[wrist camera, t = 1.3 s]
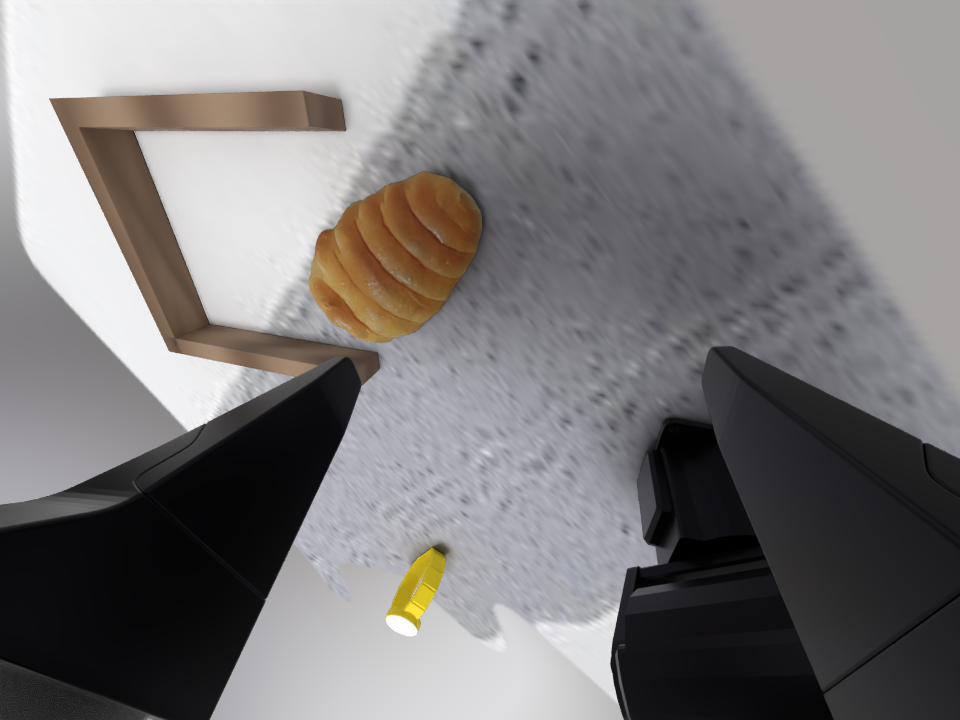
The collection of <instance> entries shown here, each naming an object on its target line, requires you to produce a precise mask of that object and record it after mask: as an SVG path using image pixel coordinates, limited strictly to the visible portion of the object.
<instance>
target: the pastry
mask: <svg viewBox="0 0 960 720" xmlns="http://www.w3.org/2000/svg"><path fill="white" fill-rule="evenodd" d="M481 233H482V214H481V211H480V210H479V208H478V206H477V205H476V203H475V201H474V200H473V198H472V197H471V196H470V195H469V193H468V192H467V191H465V190H464V189H462V188H461V187H460V186H459V185H458V184H457V183H455V182H454V181H453V180H452V179H450V178H448V177H444V176H440V175H435V174H432V173H428V172H421V173H419V174H417V175H415V176H412V177H410V178H408V179H407V180H405V181H402V182H397V183H391V184H389V185H386V186H384V187H383V188H382V189H381V190H379V191H378V192H377V193H375V194H373V195H370V196H369V197H367V198H366V199H364V200H359V201H357V202H354V203H351V205H350V206H349V207H348V208H347V209H346V210H345V212H344V213H343V215H342V217H341V219H340V220H339V221H338V224H337V225H336V226H335V227H334V228H333V229H330V230H324V231H322V232H321V233H320V235H319V237H318V239H317V242H316V247H315V255H314V258H313V261H312V266H311V275H310V277H309V280H308V284H309V289H310V292H311V294H312V296H313V298H314V299H315V301H316V303H317V305H318V306H319V307H320V308H321V310H322V311H323V312H324V313H325V315H326V316H327V317H328V318H329V319H330V321H331V322H332V323H333V324H335V325H337V326H338V327H341V328H343V329H345V330H346V331H347V332H348V333H349V334H351V335H352V336H354V337H356V338H358V339H361V340H364V341H369V342H375V343H378V342H379V343H384V342H389V341H391V340H392V339H394V338H396V337H398V336H405V335H408V334H410V333H413V332H416V331H417V330H419V329H420V328H421V326H422V325H423V324H424V323H425V322H426V321H427V320H429V319H430V317H431V316H433V315H434V314H436V313H437V312H438V311H439V310H440V309H441V308H442V306H443V305H444V303H445V301H446V299H447V298H448V297H449V296H450V294H451V292H452V290H453V288H454V287H455V285H456V284H457V282H458V281H459V280H460V279H461V277H462V275H463V274H464V273H465V272H466V270H467V268H468V266H469V265H470V263H471V261H472V260H473V258H474V256H475V254H476V251H477V247H478V243H479V239H480V236H481Z"/></svg>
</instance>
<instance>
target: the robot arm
mask: <svg viewBox="0 0 960 720" xmlns="http://www.w3.org/2000/svg"><path fill="white" fill-rule="evenodd" d="M702 387H703V391H704V395H705V398H706V402H707V406H708V409H709V413H710V417H711V420H712V424H713V425H710V424H705V423H699V422H694V421H688V420H682V419H677V418H670V419H667V420H665V421H664V423H663V424H662V427H661V430H660V433H659V436H658V439H657V441H656V444H655V447H654V449H650V450H649V451H647V453H646V456H645V459H644V462H643V465H642V468H641V471H640V474H639V477H638V479H637V487H638V499H639V504H640V513H641V522H642V531H643V539H644V540H645V542H646V543H647V544H648V545H652V546H655V547H656V554H657V561H658V565H654V566H649V567H644V568H640V567H639V566H637V567H632V568H628V569H627V573H626V578H625V583H624V588H623V593H622V598H621V602H620V607H619V612H618V617H617V622H616V627H615V632H614V637H613V643H612V652H611V663H610V664H611V670H612V673H613V680H614V686H615V690H616V695H617V699H618V703H619V706H620V709H621V712H622V715H623V718H624V720H960V459H959V458H957V457H955V456H953V455H951V454H949V453H947V452H945V451H943V450H941V449H939V448H937V447H935V446H933V445H931V444H929V443H924V444H923V442H922V440H920V439H919V438H917V437H914V436H912V435H910V434H908V433H906V432H904V431H902V430H900V429H898V428H896V427H894V426H892V425H890V424H888V423H886V422H884V421H882V420H880V419H878V418H876V417H874V416H872V415H870V414H868V413H866V412H864V411H862V410H860V409H858V408H856V407H854V406H852V405H850V404H848V403H846V402H844V401H842V400H840V399H838V398H836V397H834V396H832V395H830V394H828V393H826V392H824V391H822V390H820V389H818V388H816V387H814V386H812V385H810V384H808V383H806V382H804V381H802V380H800V379H798V378H796V377H794V376H792V375H790V374H788V373H786V372H784V371H781V370H779V369H777V368H775V367H773V366H771V365H769V364H767V363H765V362H763V361H761V360H759V359H757V358H755V357H753V356H751V355H749V354H747V353H745V352H743V351H741V350H739V349H737V348H735V347H732V346H721V347H712V348H711V349H710V350H709V352H708V355H707V359H706V363H705V367H704V371H703V375H702ZM360 389H361V379H360V377H359V374H358V372H357V370H356V367H355V365H354V363H353V361H352V359H351V358H349V357H334V358H332V359H330V360H328V361H326V362H324V363H322V364H320V365H318V366H316V367H315V368H313V369H311V370H309V371H307V372H305V373H303V374H301V375H299V376H297V377H295V378H293V379H291V380H289V381H287V382H285V383H283V384H281V385H279V386H277V387H275V388H274V389H272V390H270V391H268V392H266V393H264V394H262V395H260V396H258V397H256V398H254V399H252V400H250V401H248V402H246V403H244V404H242V405H240V406H238V407H236V408H234V409H233V410H231V411H229V412H227V413H225V414H223V415H221V416H219V417H217V418H215V419H213V420H211V421H209V422H208V423H207V424H203V425H201V426H199V427H197V428H195V429H193V430H191V431H189V432H187V433H185V434H183V435H182V436H179V437H177V438H176V439H173V440H171V441H170V442H167V443H165V444H163V445H161V446H160V447H157V448H155V449H153V450H151V451H149V452H147V453H144V454H143V455H141V456H139V457H136V458H134V459H132V460H130V461H128V462H125V463H123V464H121V465H119V466H117V467H115V468H112V469H110V470H108V471H106V472H104V473H102V474H99V475H97V476H95V477H93V478H91V479H89V480H87V481H84V482H82V483H80V484H78V485H76V486H74V487H71V488H69V489H67V490H64V491H62V492H59V493H56V494H53V495H50V496H46V497H43V498H39V499H35V500H30V501H26V502H19V503H11V504H2V505H0V720H148V718H149V719H153V720H210V718H211V715H212V714H213V712H214V710H215V707H216V705H217V703H218V701H219V699H220V697H221V694H222V693H223V690H224V688H225V686H226V684H227V682H228V680H229V678H230V676H231V674H232V671H233V669H234V667H235V665H236V663H237V661H238V659H239V657H240V654H241V652H242V650H243V648H244V646H245V644H246V642H247V640H248V638H249V635H250V633H251V631H252V629H253V627H254V625H255V623H256V621H257V618H258V616H259V614H260V612H261V610H262V608H263V606H264V604H265V599H266V598H267V597H268V595H269V593H270V591H271V588H272V586H273V584H274V582H275V580H276V578H277V576H278V573H279V571H280V569H281V567H282V565H283V563H284V561H285V558H286V557H287V555H288V552H289V550H290V548H291V546H292V544H293V542H294V540H295V538H296V536H297V534H298V531H299V529H300V527H301V525H302V523H303V521H304V519H305V517H306V514H307V512H308V510H309V508H310V506H311V504H312V502H313V500H314V498H315V495H316V493H317V491H318V489H319V487H320V485H321V483H322V481H323V479H324V476H325V474H326V472H327V470H328V468H329V466H330V464H331V462H332V460H333V457H334V455H335V453H336V451H337V449H338V447H339V445H340V443H341V441H342V438H343V436H344V434H345V431H346V429H347V426H348V423H349V420H350V418H351V415H352V412H353V409H354V406H355V403H356V400H357V398H358V395H359V392H360ZM670 427H677V428H676V429H669V428H670Z"/></svg>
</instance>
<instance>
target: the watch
mask: <svg viewBox="0 0 960 720" xmlns="http://www.w3.org/2000/svg"><path fill="white" fill-rule="evenodd" d="M445 562H446V561H445V558H444V555H443V554H441V553H440V552H438V551H437V550H436V549H434V548H432V547H431V548H430V550H428V551H427V552H426V553H424V554H423V555H421V556H420V557H419V558H417V559H416V561H415V562H414V563H413V565H412V566H411V567H410V569H409V571H408V572H407V574H406V575H405V577H404V579H403V581H402V583H401V585H400V586H399V588H398V591H397V593H396V595H395V597H394V599H393V602H392V606H391V608H390V610H389V611H388V613H387V616H386V622H387V624H388V625H389V627H391V628H392V629H393V630H394V631H396V632H398V633H400V634H402V635H406V636H415V635H416V634H417V633H418V630H419V628H420V624H421V622H420V619H419V618H420V617H421V615H422V614H423V613H424V612H425V609H427V607H428V605H429V604H430V602H431V600H432V598H433V597H434V595H435V592H436V591H437V589H438V586H439V584H440V581H441V579H442V576H443V573H444V568H445ZM424 574H425V575H424ZM423 575H424V577H423ZM422 577H423V580H422V583H421V584H420V585H419V587H418V589H417V590H416V592H415V594H414V595H413V597H412V594H413V592H414V590H415V589H416V587H417V585H418V583H419V581H420V580H421V578H422ZM411 597H412V599H411ZM410 599H411V600H410Z"/></svg>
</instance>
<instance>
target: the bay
mask: <svg viewBox="0 0 960 720" xmlns="http://www.w3.org/2000/svg"><path fill="white" fill-rule="evenodd" d="M49 100H50V102H51V104H52V106H53V108H54V110H55V112H56V114H57V116H58V119H59V121H60V123H61V125H62V127H63V129H64V131H65V133H66V135H67V137H68V140H69V142H70V144H71V146H72V148H73V150H74V152H75V154H76V156H77V158H78V161H79V163H80V165H81V167H82V169H83V171H84V173H85V175H86V177H87V179H88V182H89V184H90V186H91V188H92V190H93V192H94V194H95V196H96V198H97V200H98V203H99V205H100V207H101V209H102V211H103V213H104V215H105V217H106V219H107V221H108V224H109V226H110V228H111V230H112V232H113V234H114V236H115V238H116V240H117V243H118V245H119V247H120V249H121V251H122V253H123V255H124V257H125V259H126V261H127V264H128V266H129V268H130V270H131V272H132V274H133V276H134V278H135V280H136V282H137V285H138V287H139V289H140V291H141V293H142V295H143V297H144V299H145V301H146V303H147V306H148V308H149V310H150V312H151V314H152V316H153V318H154V320H155V322H156V324H157V327H158V329H159V331H160V333H161V335H162V337H163V339H164V341H165V343H166V345H167V348H168V350H169V351H170V352H175V353H180V354H185V355H190V356H195V357H200V358H205V359H210V360H215V361H220V362H225V363H230V364H235V365H240V366H245V367H250V368H254V369H259V370H264V371H269V372H274V373H279V374H284V375H289V376H294V377H297V376H299V375H301V374H303V373H305V372H307V371H309V370H311V369H313V368H315V367H316V366H318V365H320V364H322V363H324V362H326V361H328V360H330V359H332V358H334V357H349V358H351V359H352V361H353V363H354V365H355V367H356V370H357V372H358V374H359V377H360V379H361V386H362V385H363V384H364V383H365V382H366V381H368V380H369V379H370V378H371V377H372V376H373V375H374V374H375V373H376V372H377V371H378V370H379V369H380V367H379V360H378V353H374V352H369V351H363V350H357V349H351V348H345V347H339V346H334V345H328V344H322V343H316V342H310V341H304V340H299V339H293V338H287V337H281V336H275V335H269V334H263V333H258V332H252V331H246V330H240V329H234V328H228V327H223V326H217V325H211V324H209V323H208V320H207V317H206V315H205V312H204V310H203V307H202V305H201V302H200V300H199V297H198V295H197V292H196V290H195V287H194V285H193V282H192V279H191V277H190V274H189V272H188V269H187V267H186V264H185V262H184V259H183V257H182V254H181V252H180V249H179V247H178V244H177V242H176V239H175V236H174V234H173V231H172V229H171V226H170V224H169V221H168V219H167V216H166V214H165V211H164V209H163V206H162V204H161V201H160V198H159V196H158V193H157V191H156V188H155V186H154V183H153V181H152V178H151V176H150V173H149V171H148V168H147V166H146V163H145V160H144V158H143V155H142V153H141V150H140V148H139V145H138V143H137V140H136V138H135V135H134V133H133V131H346V130H345V123H344V116H343V109H342V102H341V100H340V99H336V98H331V97H327V96H323V95H319V94H315V93H310V92H306V91H276V92H244V93H213V94H181V95H150V96H118V97H87V98H55V99H49Z"/></svg>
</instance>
